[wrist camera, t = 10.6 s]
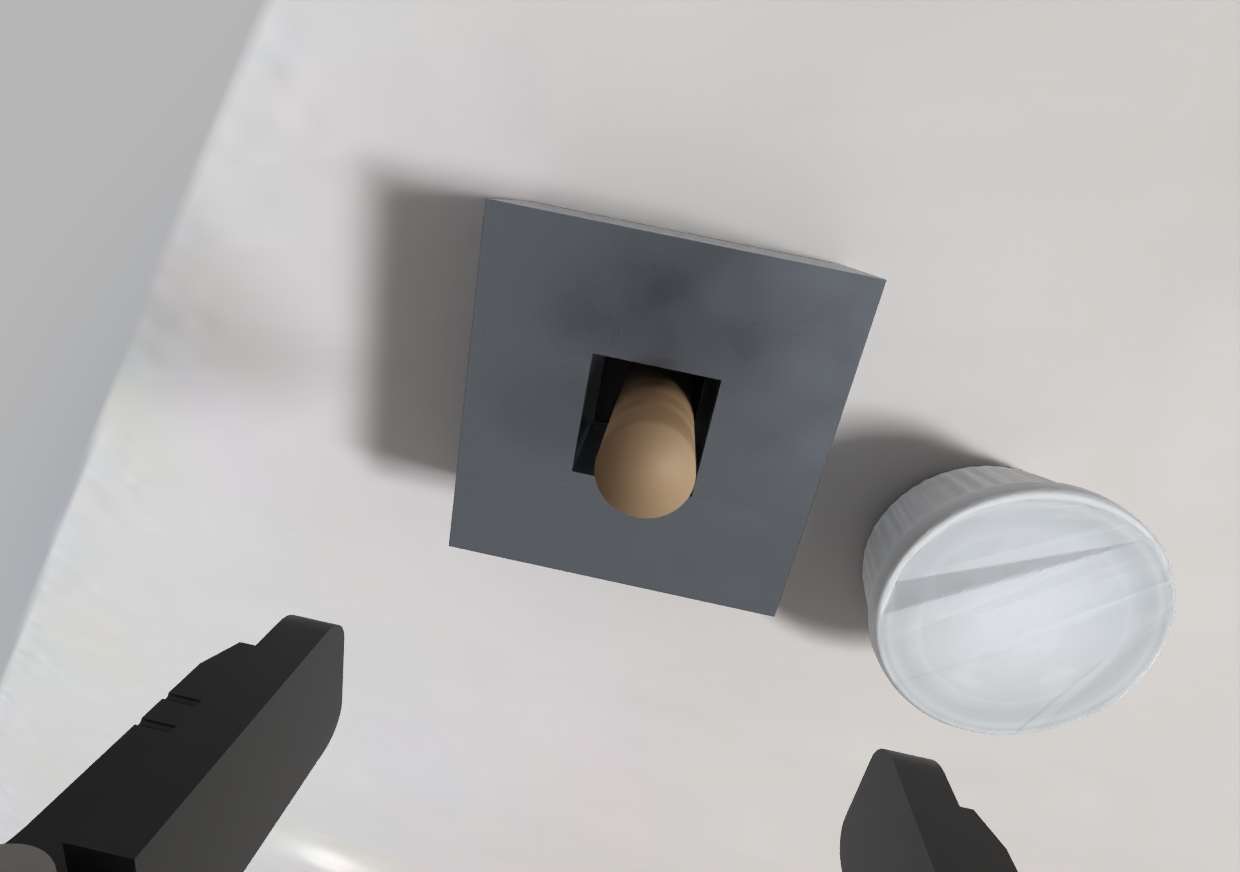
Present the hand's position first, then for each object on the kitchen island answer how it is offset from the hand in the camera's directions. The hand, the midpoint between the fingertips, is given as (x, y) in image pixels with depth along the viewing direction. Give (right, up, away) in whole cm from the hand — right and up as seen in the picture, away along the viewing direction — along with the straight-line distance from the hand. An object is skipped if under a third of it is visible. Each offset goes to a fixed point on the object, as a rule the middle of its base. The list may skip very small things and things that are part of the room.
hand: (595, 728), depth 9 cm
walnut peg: (+2, +7, +19) cm, 20 cm away
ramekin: (+17, -1, +20) cm, 26 cm away
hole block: (+2, +7, +19) cm, 20 cm away
